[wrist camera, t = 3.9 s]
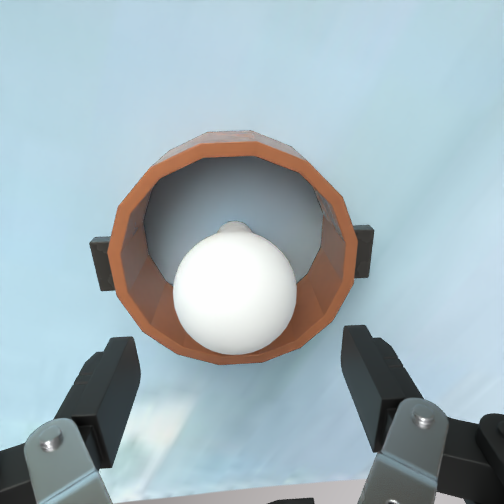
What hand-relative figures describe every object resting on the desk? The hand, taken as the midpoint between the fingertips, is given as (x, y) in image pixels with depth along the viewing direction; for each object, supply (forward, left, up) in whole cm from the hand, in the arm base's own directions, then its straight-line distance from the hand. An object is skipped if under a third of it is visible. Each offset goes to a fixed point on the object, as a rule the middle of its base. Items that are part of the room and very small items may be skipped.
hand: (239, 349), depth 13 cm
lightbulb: (0, 0, -13) cm, 13 cm away
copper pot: (0, 0, -12) cm, 12 cm away
